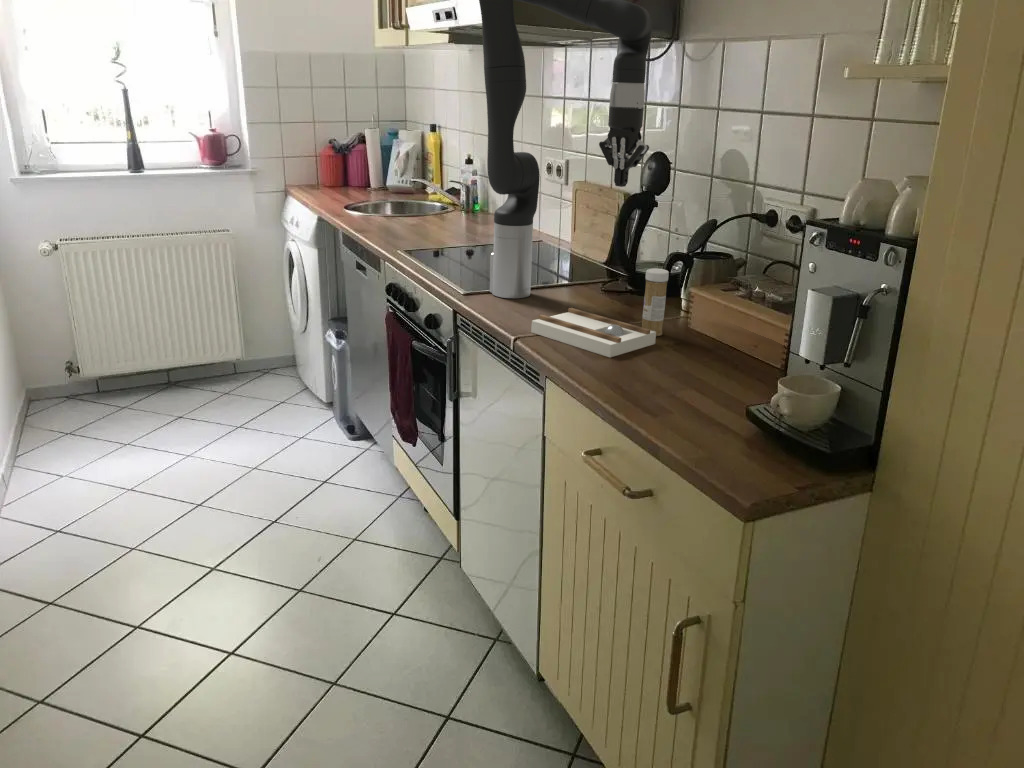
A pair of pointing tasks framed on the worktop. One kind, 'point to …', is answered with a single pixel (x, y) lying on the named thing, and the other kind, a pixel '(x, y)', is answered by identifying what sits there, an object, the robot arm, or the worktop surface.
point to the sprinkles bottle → (655, 299)
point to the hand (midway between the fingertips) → (620, 186)
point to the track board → (592, 332)
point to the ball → (614, 330)
